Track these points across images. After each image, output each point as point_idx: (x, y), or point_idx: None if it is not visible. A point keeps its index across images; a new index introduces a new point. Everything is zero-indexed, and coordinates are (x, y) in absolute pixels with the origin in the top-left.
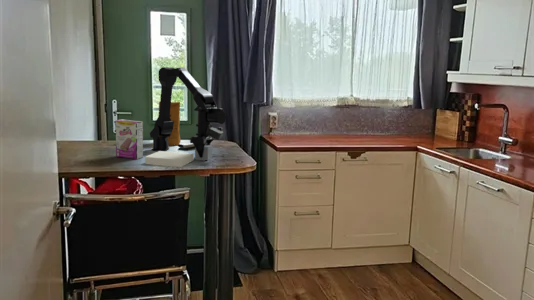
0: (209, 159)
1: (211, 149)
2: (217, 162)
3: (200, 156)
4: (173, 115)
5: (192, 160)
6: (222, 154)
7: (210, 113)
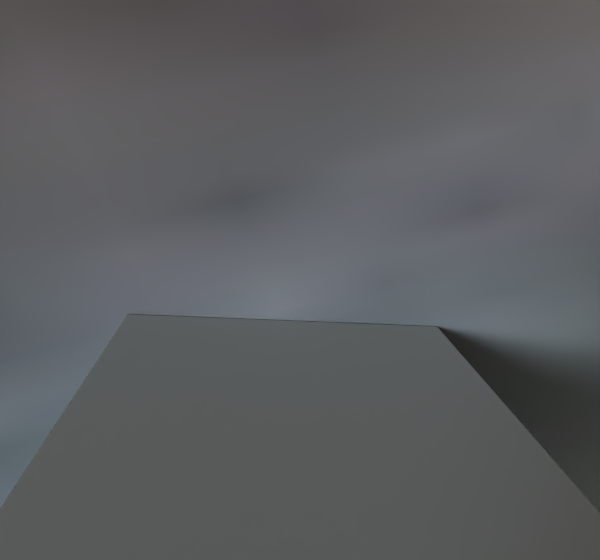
0: (327, 324)
1: (141, 500)
2: (579, 60)
3: None
4: None
5: None
6: None
7: None
